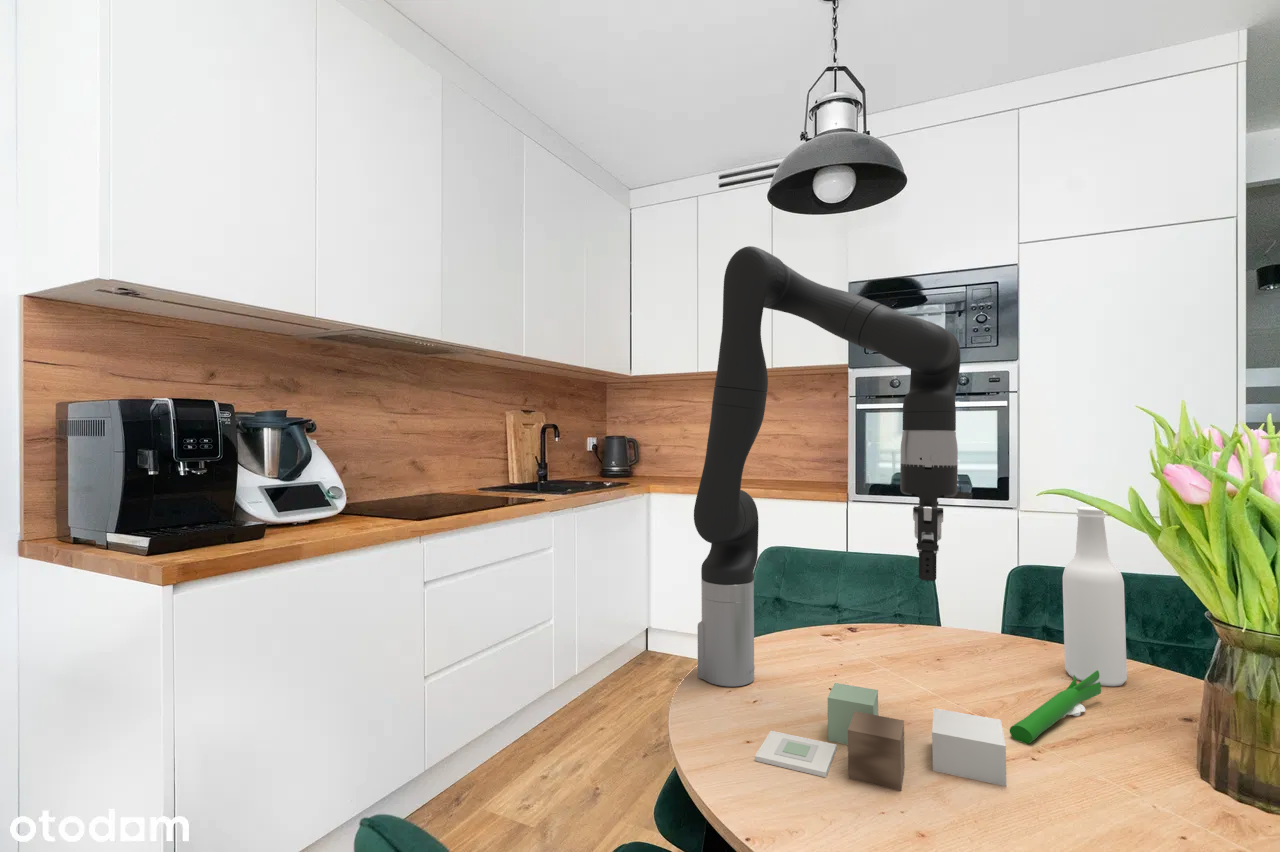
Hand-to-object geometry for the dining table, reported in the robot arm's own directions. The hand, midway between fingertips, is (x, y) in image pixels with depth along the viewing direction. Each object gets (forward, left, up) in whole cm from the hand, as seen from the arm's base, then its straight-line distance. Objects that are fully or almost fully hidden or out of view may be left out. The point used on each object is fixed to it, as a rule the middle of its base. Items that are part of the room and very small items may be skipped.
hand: (927, 574), depth 89 cm
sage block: (-10, -6, -23) cm, 25 cm away
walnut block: (-6, -15, -23) cm, 28 cm away
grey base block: (+5, -8, -23) cm, 24 cm away
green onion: (+18, +16, -23) cm, 33 cm away
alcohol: (+25, +36, -23) cm, 49 cm away
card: (-16, -15, -22) cm, 31 cm away
